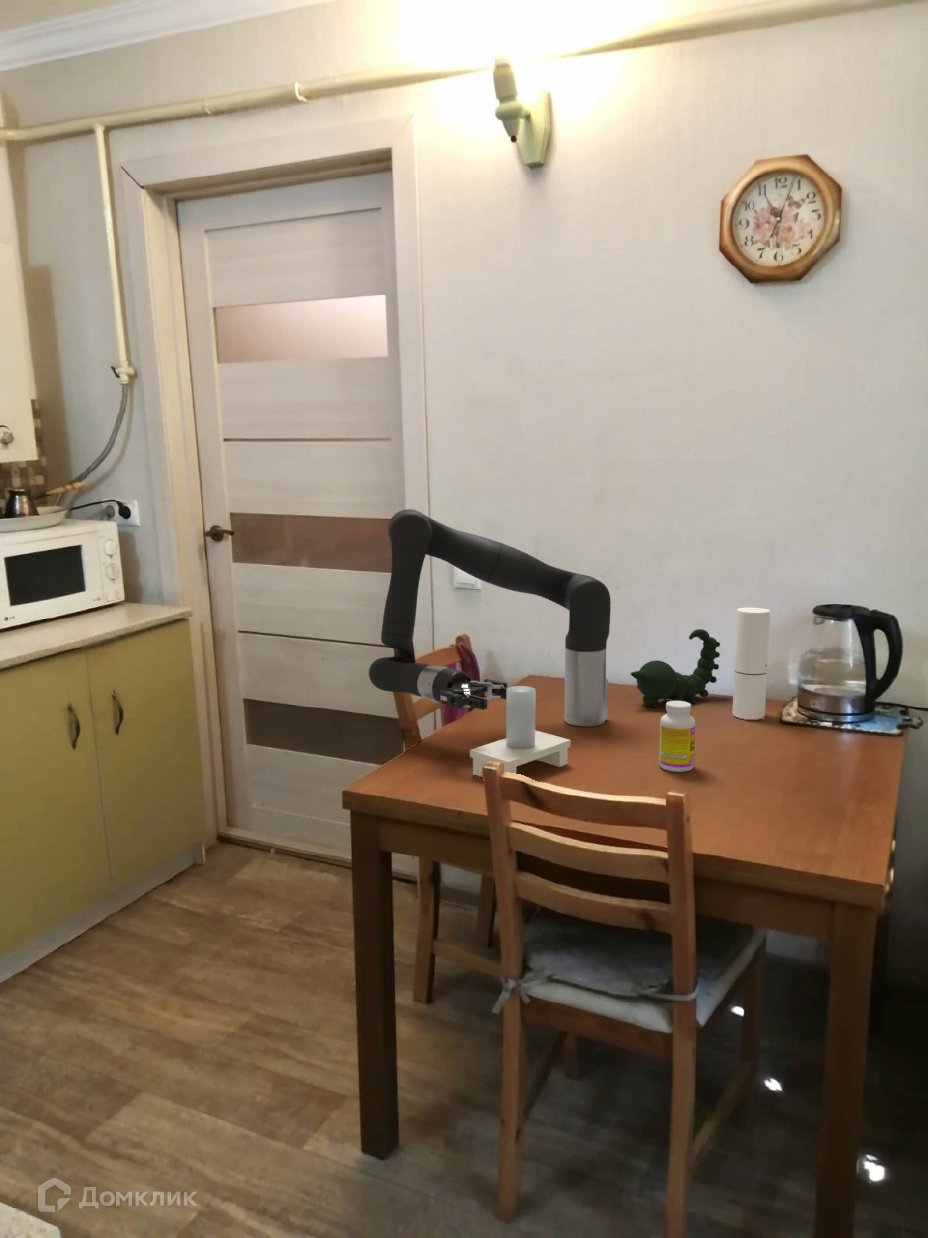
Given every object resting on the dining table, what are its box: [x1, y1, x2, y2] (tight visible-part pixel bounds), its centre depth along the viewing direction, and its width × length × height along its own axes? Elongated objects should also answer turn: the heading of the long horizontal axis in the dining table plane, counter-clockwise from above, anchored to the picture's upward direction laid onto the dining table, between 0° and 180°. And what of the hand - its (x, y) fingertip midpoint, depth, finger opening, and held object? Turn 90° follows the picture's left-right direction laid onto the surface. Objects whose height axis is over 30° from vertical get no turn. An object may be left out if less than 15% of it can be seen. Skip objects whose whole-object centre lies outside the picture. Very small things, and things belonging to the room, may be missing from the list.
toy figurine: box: [630, 628, 721, 708], centre depth 224 cm, size 9×19×25 cm
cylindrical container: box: [731, 607, 771, 719], centre depth 211 cm, size 7×7×25 cm
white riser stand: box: [469, 729, 571, 776], centre depth 179 cm, size 18×10×5 cm, turn 135°
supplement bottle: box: [658, 700, 696, 773], centre depth 179 cm, size 7×7×13 cm
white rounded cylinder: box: [505, 685, 537, 749], centre depth 178 cm, size 6×6×11 cm
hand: (501, 700), depth 181 cm, fingers open, 8 cm apart
